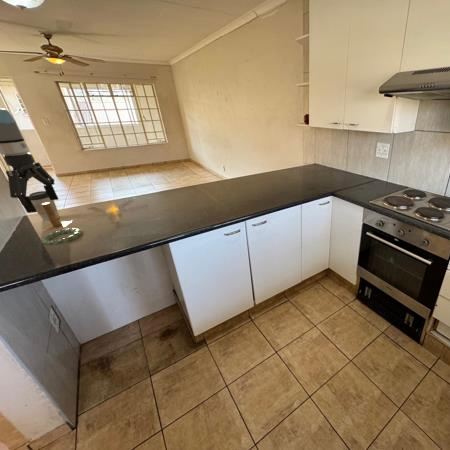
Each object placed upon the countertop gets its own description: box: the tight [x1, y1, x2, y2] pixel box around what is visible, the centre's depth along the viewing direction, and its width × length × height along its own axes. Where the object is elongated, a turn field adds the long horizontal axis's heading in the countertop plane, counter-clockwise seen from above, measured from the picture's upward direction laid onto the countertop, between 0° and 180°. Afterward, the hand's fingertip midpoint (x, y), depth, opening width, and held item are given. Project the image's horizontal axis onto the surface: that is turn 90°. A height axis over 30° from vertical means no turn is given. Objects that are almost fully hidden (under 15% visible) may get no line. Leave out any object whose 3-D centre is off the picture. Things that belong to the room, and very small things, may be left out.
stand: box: [40, 202, 73, 232], centre depth 121 cm, size 9×9×14 cm
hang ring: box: [41, 227, 83, 246], centre depth 113 cm, size 14×14×3 cm
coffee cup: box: [28, 190, 60, 222], centre depth 131 cm, size 9×9×15 cm
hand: (44, 205), depth 102 cm, fingers open, 13 cm apart
